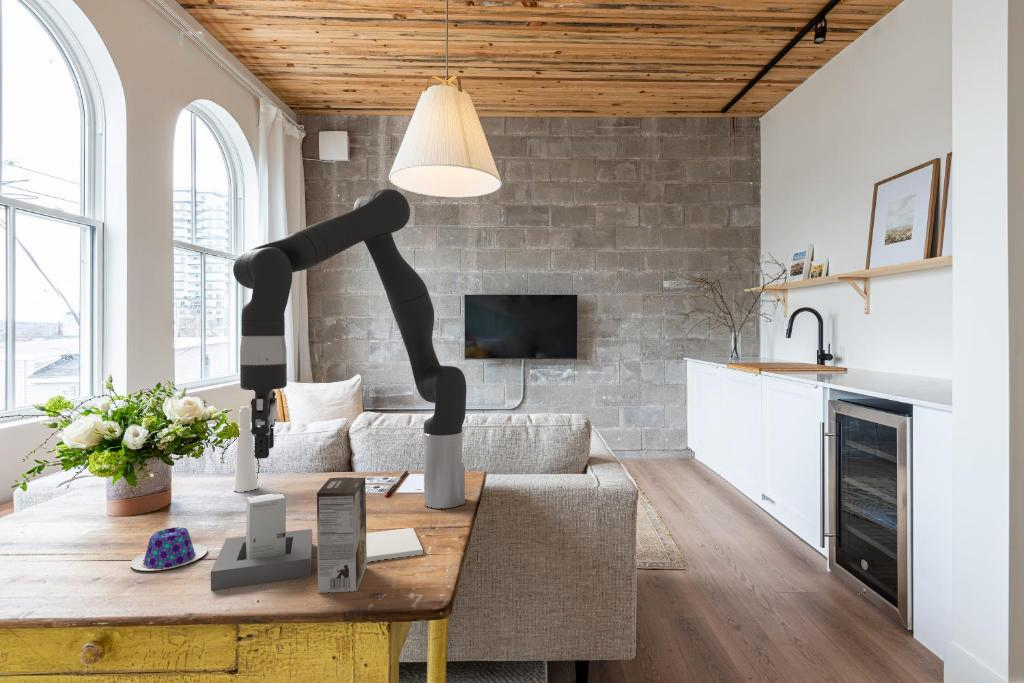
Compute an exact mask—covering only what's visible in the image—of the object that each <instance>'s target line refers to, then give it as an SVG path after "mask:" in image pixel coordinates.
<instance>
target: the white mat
mask: <svg viewBox="0 0 1024 683" xmlns="http://www.w3.org/2000/svg"><path fill="white" fill-rule="evenodd" d="M366 547H367V563H371V561H374V562H378V561H377V560H381V561H385V560H384V559H388V560H393V559H392V558H395V559H399V558H398V557H403V558H408V557H407V556H410V557H415V555H417V556H423V555H424V549H423V547H422V544H421V542H420V540H419V538H418V536H417V534H416V532H415V530H414V527H407V528H400V529H392V530H391V529H390V530H383V531H382V530H381V531H375V532H366ZM422 554H423V555H422Z"/></svg>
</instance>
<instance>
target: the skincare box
mask: <svg viewBox="0 0 1024 683" xmlns="http://www.w3.org/2000/svg"><path fill="white" fill-rule="evenodd" d="M284 495H285V494H283V493H282V492H277V493H269V494H266V493H265V494H261V495H256V496H255V495H254V496H247V497H246V516H245V517H246V518H245V519H246V520H245V521H246V522H245V523H246V526H245V527H246V528H245V529H246V534H245V535H246V559H245V560H247V559H255V558H263V557H270V556H278V555H286V554H287V553H286V532H287V530H286V529H287V528H286V525H287V524H286V523H287V520H286V519H287V518H286V517H287V516H286V512H287V504H286V503H287V499H286V497H285V496H284Z"/></svg>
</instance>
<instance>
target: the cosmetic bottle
mask: <svg viewBox="0 0 1024 683" xmlns="http://www.w3.org/2000/svg"><path fill="white" fill-rule="evenodd" d="M238 429H239V433H240V436H239V437H237V436H236V448H235V449H236V450H235V451H236V452H235V470H234V481H233V487H232V492H234V491H237V492H236V493H245V492H244V491H248V492H251V491H250V490H253V491H255V490H254V489H256V490H258V488H259V484H258V480H257V473H256V464H255V444H254V437H253V435H252V433H251V430H252V423H251V409H250V406H249V405H242V406H240V407H239V411H238ZM238 491H239V492H238Z"/></svg>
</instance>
